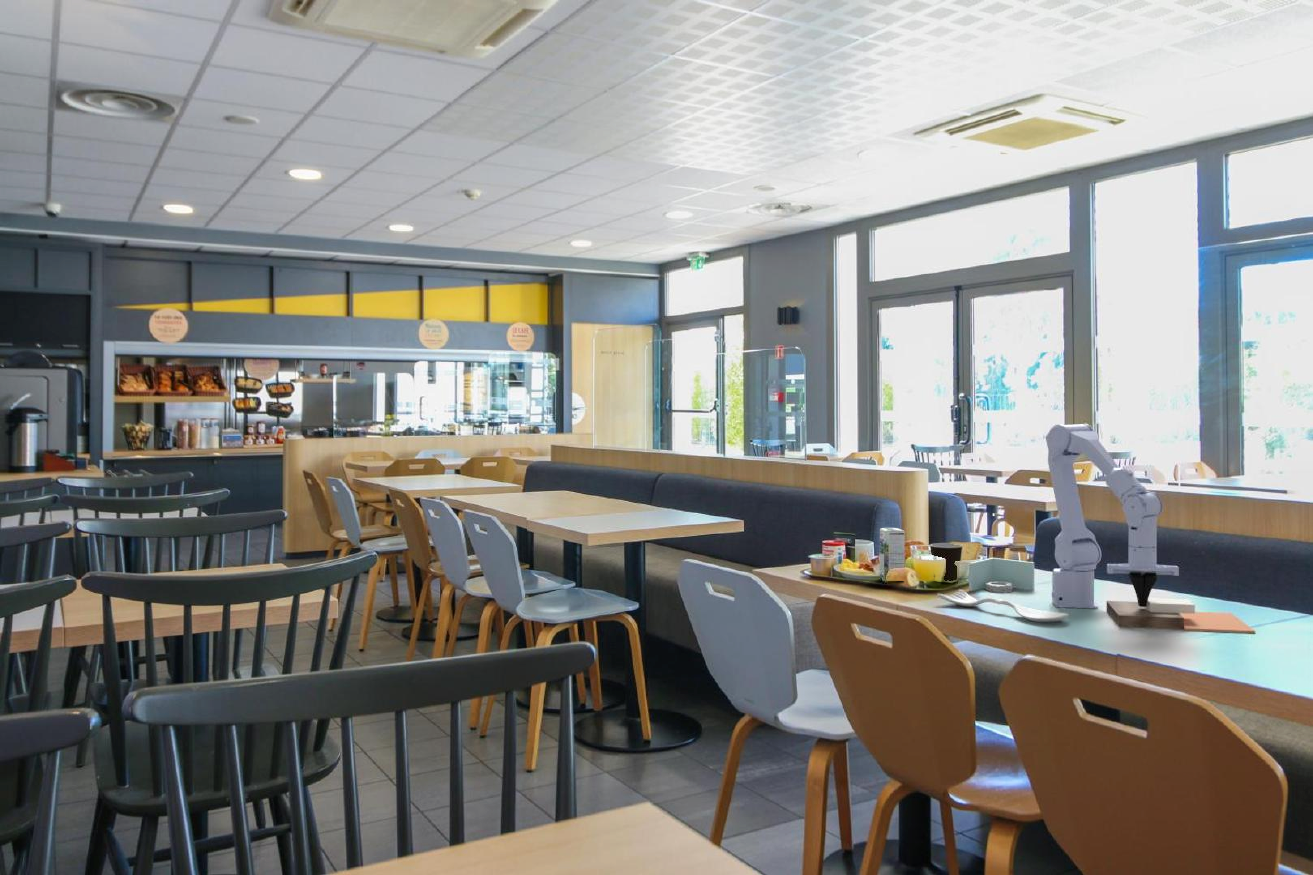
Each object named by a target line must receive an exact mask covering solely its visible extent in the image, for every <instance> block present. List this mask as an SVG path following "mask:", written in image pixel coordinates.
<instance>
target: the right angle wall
mask: <svg viewBox="0 0 1313 875" xmlns="http://www.w3.org/2000/svg"><path fill="white" fill-rule="evenodd" d="M980 589H985V590H986V591H988V592H990V593H992V592H993V593H1004V594H1005V593H1006V594H1007V593H1010V592H1012V591H1014V590H1013V589H1019V590H1025V591H1032V592H1033V591H1035V562H1033V561H1027V560H1025V561H1024V560H1018V559H1017V560H1016V559H1007V558H1000V557H989V558H985V559H980V560H977V561H972V562H968V590H969V591H970V592H972V591H976V590H977V591H978V590H980Z"/></svg>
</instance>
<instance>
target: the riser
mask: <svg viewBox="0 0 1313 875" xmlns="http://www.w3.org/2000/svg"><path fill="white" fill-rule="evenodd" d="M1106 613H1107V614H1108V615H1109V616H1110V617H1111V619H1112V620H1113V621H1114V623H1115V624H1116V625H1117V626H1118V627H1119V626H1120V627H1119V628H1121V627H1122V628H1138V629H1139V628H1143V629H1144V628H1145V629H1161V630H1162V629H1165V630H1166V629H1167V630H1184V618H1183V617H1182V616H1181V615H1180V614H1179V613H1162V612H1150V611H1149V610H1148V609H1147V608H1146V607H1140V606H1139V605H1138V601H1123V600H1122V601H1121V600H1120V601H1119V600H1106Z"/></svg>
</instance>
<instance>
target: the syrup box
mask: <svg viewBox="0 0 1313 875" xmlns="http://www.w3.org/2000/svg"><path fill="white" fill-rule="evenodd" d="M905 545H906V531H905V530H903V529H900V528H898V527H882V528H881V527H880V529H879V558H878V560H879V565H878V566H879V570H878V571H879V573H878V574H879V576H881V578H882V580H881V581H883V582H884V583H887V582H886V575H887V573H888V571H889V570H890V569H893V568H905V567H906V566H905V564H906V563H905V560H906V558H905V557H906V555H905V554H906V552H905V551H906V550H905V549H906V546H905ZM905 569H906V568H905Z"/></svg>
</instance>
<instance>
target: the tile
mask: <svg viewBox="0 0 1313 875" xmlns="http://www.w3.org/2000/svg"><path fill="white" fill-rule="evenodd" d="M1146 608H1147V609H1148V610H1149V611H1150V612H1162V613H1188V614H1195V612H1196V604H1194V603H1193V601H1191V600H1190V599H1188V598H1186V599H1185V598H1163V597H1161V598H1158V597H1148V601H1147V606H1146Z"/></svg>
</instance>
